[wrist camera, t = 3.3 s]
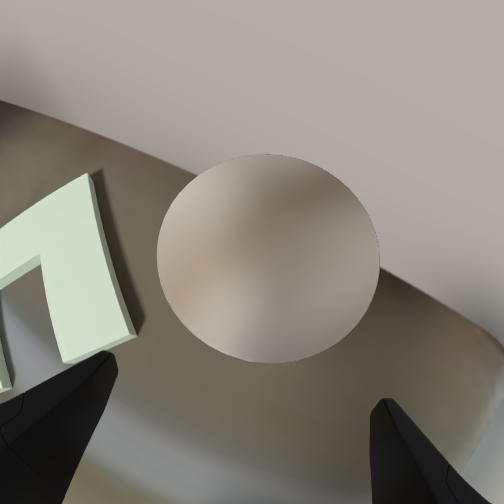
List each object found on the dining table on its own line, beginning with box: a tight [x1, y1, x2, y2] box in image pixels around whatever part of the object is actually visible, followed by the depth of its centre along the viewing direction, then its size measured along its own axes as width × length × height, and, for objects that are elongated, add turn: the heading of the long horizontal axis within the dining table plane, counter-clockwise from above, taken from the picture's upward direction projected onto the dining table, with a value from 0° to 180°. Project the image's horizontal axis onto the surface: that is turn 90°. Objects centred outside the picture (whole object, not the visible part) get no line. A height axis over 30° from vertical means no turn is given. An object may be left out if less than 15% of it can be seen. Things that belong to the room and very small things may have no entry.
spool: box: [157, 154, 380, 363], centre depth 14 cm, size 7×7×12 cm
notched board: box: [0, 173, 137, 393], centre depth 19 cm, size 16×22×2 cm
